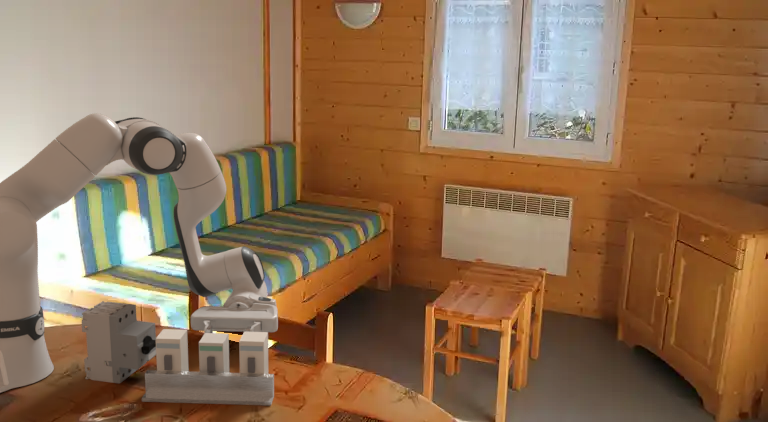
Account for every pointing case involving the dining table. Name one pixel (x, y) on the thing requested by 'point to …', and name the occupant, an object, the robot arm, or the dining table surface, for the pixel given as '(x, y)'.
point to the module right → (254, 352)
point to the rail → (209, 387)
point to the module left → (172, 350)
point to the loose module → (214, 353)
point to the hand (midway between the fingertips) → (228, 332)
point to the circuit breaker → (116, 341)
